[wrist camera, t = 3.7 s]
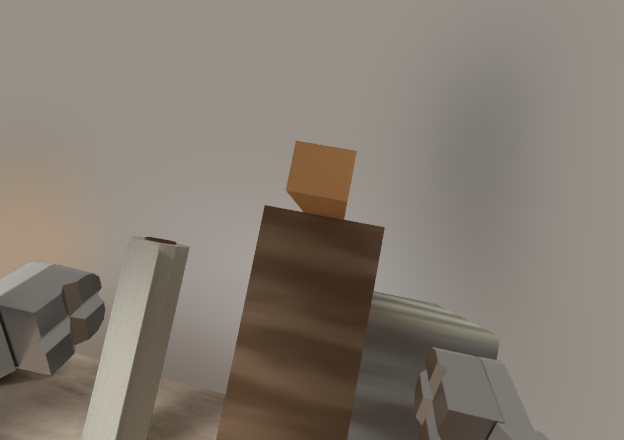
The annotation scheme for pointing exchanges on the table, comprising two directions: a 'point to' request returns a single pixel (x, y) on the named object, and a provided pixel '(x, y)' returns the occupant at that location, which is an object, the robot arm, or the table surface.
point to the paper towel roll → (136, 340)
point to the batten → (321, 179)
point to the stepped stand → (331, 338)
